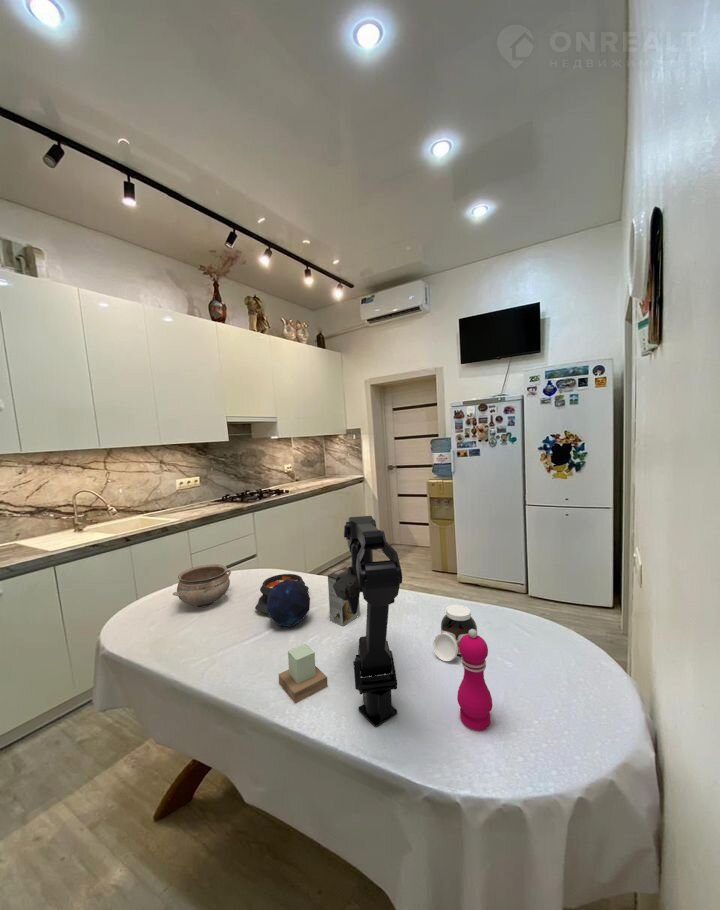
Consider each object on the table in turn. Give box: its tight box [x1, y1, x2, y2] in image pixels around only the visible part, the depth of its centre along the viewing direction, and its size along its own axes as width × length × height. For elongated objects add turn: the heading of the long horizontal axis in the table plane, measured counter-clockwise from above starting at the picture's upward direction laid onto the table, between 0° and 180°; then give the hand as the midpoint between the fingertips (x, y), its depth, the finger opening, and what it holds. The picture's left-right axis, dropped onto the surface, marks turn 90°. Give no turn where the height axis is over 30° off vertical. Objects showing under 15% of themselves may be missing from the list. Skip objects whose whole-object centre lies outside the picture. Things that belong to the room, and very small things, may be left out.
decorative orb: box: [267, 580, 311, 627], centre depth 122 cm, size 14×15×15 cm
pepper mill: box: [456, 629, 493, 731], centre depth 77 cm, size 7×7×20 cm
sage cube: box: [287, 643, 316, 684], centre depth 91 cm, size 5×5×6 cm
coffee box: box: [327, 567, 361, 627], centre depth 123 cm, size 9×6×16 cm
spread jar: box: [432, 604, 478, 662], centre depth 101 cm, size 12×11×12 cm
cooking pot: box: [172, 563, 232, 608], centre depth 140 cm, size 25×19×12 cm
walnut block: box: [278, 665, 328, 704], centre depth 91 cm, size 9×9×3 cm
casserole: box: [254, 573, 310, 614], centre depth 138 cm, size 25×19×8 cm
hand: (364, 620), depth 96 cm, fingers open, 9 cm apart
